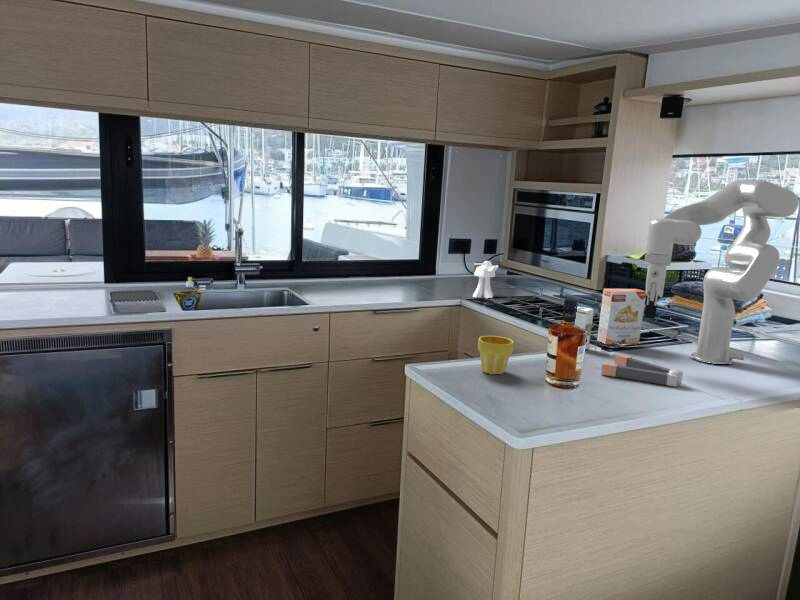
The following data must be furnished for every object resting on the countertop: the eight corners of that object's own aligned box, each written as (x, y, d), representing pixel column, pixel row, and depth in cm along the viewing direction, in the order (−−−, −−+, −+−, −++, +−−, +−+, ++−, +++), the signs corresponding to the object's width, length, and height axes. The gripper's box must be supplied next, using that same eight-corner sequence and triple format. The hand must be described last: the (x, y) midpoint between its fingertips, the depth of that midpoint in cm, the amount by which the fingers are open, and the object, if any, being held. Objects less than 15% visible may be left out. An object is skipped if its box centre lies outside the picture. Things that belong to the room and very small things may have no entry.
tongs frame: (680, 384, 174) (682, 370, 174) (680, 388, 170) (682, 375, 169) (603, 371, 183) (604, 358, 183) (601, 375, 179) (602, 362, 178)
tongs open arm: (672, 379, 177) (673, 369, 177) (666, 380, 176) (668, 370, 175) (619, 363, 192) (621, 353, 191) (614, 364, 190) (615, 354, 190)
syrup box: (573, 345, 213) (577, 305, 210) (589, 349, 209) (594, 308, 206) (566, 348, 208) (571, 307, 206) (583, 352, 205) (587, 310, 202)
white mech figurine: (464, 295, 303) (466, 260, 299) (484, 293, 310) (486, 259, 307) (479, 299, 293) (482, 263, 290) (500, 298, 300) (503, 262, 297)
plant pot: (518, 372, 177) (520, 341, 176) (496, 379, 170) (499, 346, 169) (490, 364, 185) (492, 333, 183) (468, 370, 178) (471, 338, 176)
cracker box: (605, 349, 210) (612, 290, 206) (595, 344, 215) (602, 287, 211) (639, 348, 213) (647, 291, 210) (629, 344, 219) (636, 287, 215)
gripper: (670, 263, 177) (661, 323, 180) (671, 259, 190) (663, 315, 194) (643, 260, 180) (635, 319, 183) (646, 256, 193) (638, 312, 197)
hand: (649, 317), depth 188 cm, fingers closed
